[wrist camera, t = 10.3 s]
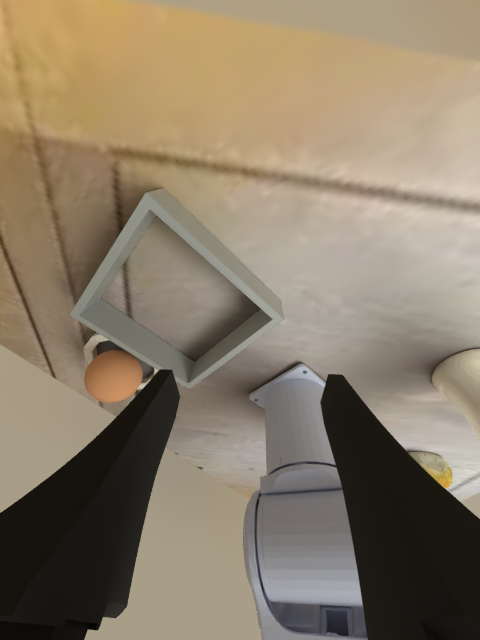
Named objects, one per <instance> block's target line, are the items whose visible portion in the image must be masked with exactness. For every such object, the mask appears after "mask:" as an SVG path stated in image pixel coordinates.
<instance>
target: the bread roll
mask: <svg viewBox="0 0 480 640" xmlns="http://www.w3.org/2000/svg"><path fill="white" fill-rule="evenodd" d="M409 454H410V455H411V456H412V457H413V458H414V459H415V460H416V461H417V462H418V463H419V464H420V465H421V466H422V467H423V468H424V469H425V470H426V471H427V472H428V473H429V474H430V475H431V476H432V477H433V478H434V479H435V480H436V481H437V482H438V483H439V484H440V485H441V486H443V487H444V488H447V487H449V486H450V485H451V483H452V470H451V468H450V466H449V464H448V463H447V462H446V461H445V460H444V459H443V458H442V457H440V456H438V455H434V454H431V453H427V452H420V451H415V452H409Z"/></svg>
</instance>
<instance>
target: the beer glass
mask: <svg viewBox="0 0 480 640" xmlns="http://www.w3.org/2000/svg"><path fill="white" fill-rule="evenodd" d="M432 383H433V385H434V386H435V387H436V388H437V389H438V390H439V391H440V392H441V393H442V394H443V395H444V396H446V397H447V398H448V399H449V400H450V401H451V402H452V403H453V404H454V405H455V406H456V407H457V408H458V409H459V410H460V411H461V412H462V414H463V415H464V416H465V418H466V419H467V421H468V422H469V424H470V425H471V427H472V429H473V430H474V432H475V434H476V436H477V437H478V439H479V441H480V349H471V350H467V351H463V352H460V353H457V354H455V355H453V356H451V357H449V358H447V359H445V360H444V361H443V362H441V363H440V364H439V365H438V366H437V367H436V368H435V370H434V372H433V374H432Z"/></svg>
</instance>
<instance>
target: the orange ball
mask: <svg viewBox="0 0 480 640" xmlns="http://www.w3.org/2000/svg"><path fill="white" fill-rule="evenodd" d="M142 375H143V372H142V366H141V364H140V362H139V360H138V359H137V358H136V357H135V356H134V355H132V354H131V353H129V352H126V351H122V350H111V351H107V352H104V353H102V354H100V355H98V356H97V357H96V358H94V359H93V360H92V361H91V363H90V364H89V365H88V367H87V369H86V372H85V377H84V381H85V386H86V389H87V391H88V392H89V393H90V395H91V396H93V397H94V398H95V399H97V400H99V401H102V402H109V403H111V402H118V401H122V400H124V399H126V398H128V397H129V396H131V395H132V394H133V393H134V392H135V391H136V390H137V388H138V387H139V385H140V383H141V380H142Z"/></svg>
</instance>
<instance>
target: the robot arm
mask: <svg viewBox="0 0 480 640" xmlns="http://www.w3.org/2000/svg"><path fill="white" fill-rule="evenodd" d="M304 370H306V371H304ZM179 399H180V395H179V392H178V388H177V384H176V381H175V377H174V374H173V370H168V369H160V370H158V372H157V373H156V374H155V375H154V376H153V377H152V378H151V380H150V381H149V382H148V383H147V384H146V385H145V387H144V388H143V389H142V390H141V391H140V392H139V393H138V395H137V396H136V397H135V398H134V399H133V400H132V401H131V402H130V403H129V404H128V406H127V407H126V408H125V409H124V410H123V411H122V412H121V413H120V414H119V415H118V416H117V417H116V418H115V419H114V420H113V421H112V422H111V423H110V424H109V425H108V426H107V427H106V428H105V429H104V430H103V431H102V432H101V433H100V434H99V435H98V436H97V437H96V438H95V439H94V440H93V441H91V442H90V443H89V444H88V445H87V446H86V447H85V448H84V449H83V450H81V451H80V452H79V453H78V454H77V455H76V456H74V457H73V458H72V459H71V460H70V461H69V462H67V463H66V464H65V465H64V466H62V467H61V468H60V469H59V470H58V471H56V472H55V473H54V474H52V475H51V476H50V477H49V478H47V479H46V480H45V481H43V482H42V483H41V484H39V485H38V486H37V487H36V488H34V489H33V490H32V491H30V492H29V493H27V494H26V495H25V496H24V497H22V498H21V499H19V500H18V501H17V502H15V503H14V504H13V505H11V506H10V507H8V508H7V509H6V510H4V511H3V512H1V513H0V640H84V638H85V635H86V633H87V630H88V629H90V630H98V629H99V627H100V624H101V621H102V618H103V617H109V618H116V617H118V616H119V615H120V614H121V613H122V612H123V611H124V609H125V608H126V607H127V604H128V598H129V592H130V587H131V582H132V577H133V572H134V566H135V562H136V557H137V552H138V547H139V543H140V538H141V533H142V529H143V525H144V520H145V516H146V512H147V507H148V503H149V500H150V496H151V491H152V488H153V484H154V480H155V476H156V473H157V470H158V467H159V464H160V461H161V458H162V455H163V452H164V449H165V447H166V444H167V441H168V438H169V435H170V432H171V429H172V426H173V423H174V420H175V417H176V413H177V408H178V404H179ZM249 399H250V400H251V401H253V402H254V403H256V404H257V405H259V406H260V407H262V408H263V409H265V426H266V464H267V476H262V477H260V486H261V490H257V491H255V492H254V493H253V494H252V496H251V499H250V501H249V503H248V505H247V508H246V512H245V517H244V528H243V549H244V560H245V568H246V573H247V577H248V581H249V583H250V586H251V588H252V592H253V595H254V600H255V604H256V610H257V615H258V623H259V627H260V629H261V635H262V640H480V519H479V518H478V517H477V516H475V515H474V514H473V513H472V512H471V511H470V510H468V509H467V508H466V507H465V506H464V505H463V504H462V503H461V502H460V501H458V500H457V499H456V498H455V497H454V496H453V495H452V494H450V493H449V492H448V491H447V490H446V489H445V488H444V487H443V486H441V485H440V484H439V483H438V482H437V481H436V480H435V479H434V478H433V477H432V476H431V475H430V474H429V473H428V472H427V471H426V470H425V469H424V468H423V467H422V466H421V465H420V464H419V463H418V462H417V461H416V460H415V459H414V458H413V457H412V456H411V455H410V454H409V453H408V452H407V451H406V450H405V449H404V448H403V447H402V446H401V445H400V444H399V443H398V442H397V441H396V439H395V438H394V437H393V436H392V435H391V434H390V433H389V432H388V431H387V429H386V428H385V427H384V426H383V425H382V424H381V423H380V421H379V420H378V419H377V418H376V417H375V415H374V414H373V413H372V412H371V411H370V409H369V408H368V407H367V406H366V404H365V403H364V402H363V401H362V399H361V398H360V397H359V396H358V394H357V393H356V392H355V390H354V389H353V388H352V386H351V385H350V384H349V383H348V381H347V380H346V379H345V377H344V376H343V375H334V374H328V377H327V381H326V382H325V381H323V380H322V379H321V378H320V377H319V376H318V375H316V374H315V373H314V372H313V371H312V370H311V369H309V368H308V367H307V366H306V365H305V364H299V365H297V366H295V367H294V368H292V369H290V370H289V371H287V372H285V373H284V374H282V375H280V376H279V377H277V378H275V379H274V380H272V381H270V382H269V383H267V384H265V385H264V386H262V387H260V388H259V389H257V390H255V391H254V392H252V393H250V394H249Z"/></svg>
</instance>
